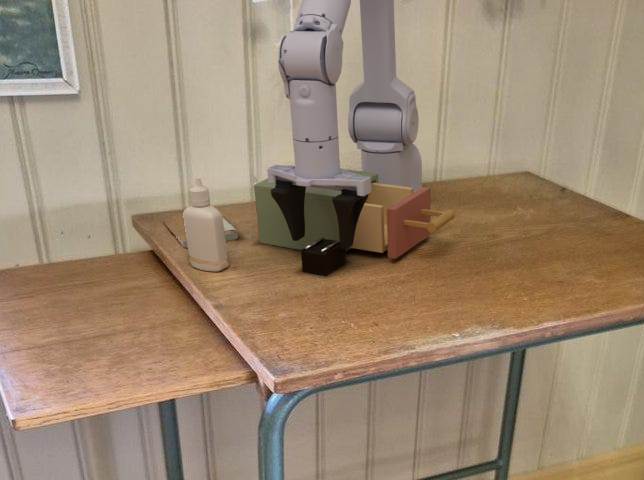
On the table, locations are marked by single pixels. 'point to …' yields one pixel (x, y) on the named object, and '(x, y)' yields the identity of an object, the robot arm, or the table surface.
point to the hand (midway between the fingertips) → (322, 242)
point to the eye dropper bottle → (204, 230)
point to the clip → (322, 257)
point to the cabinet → (316, 215)
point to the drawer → (397, 219)
